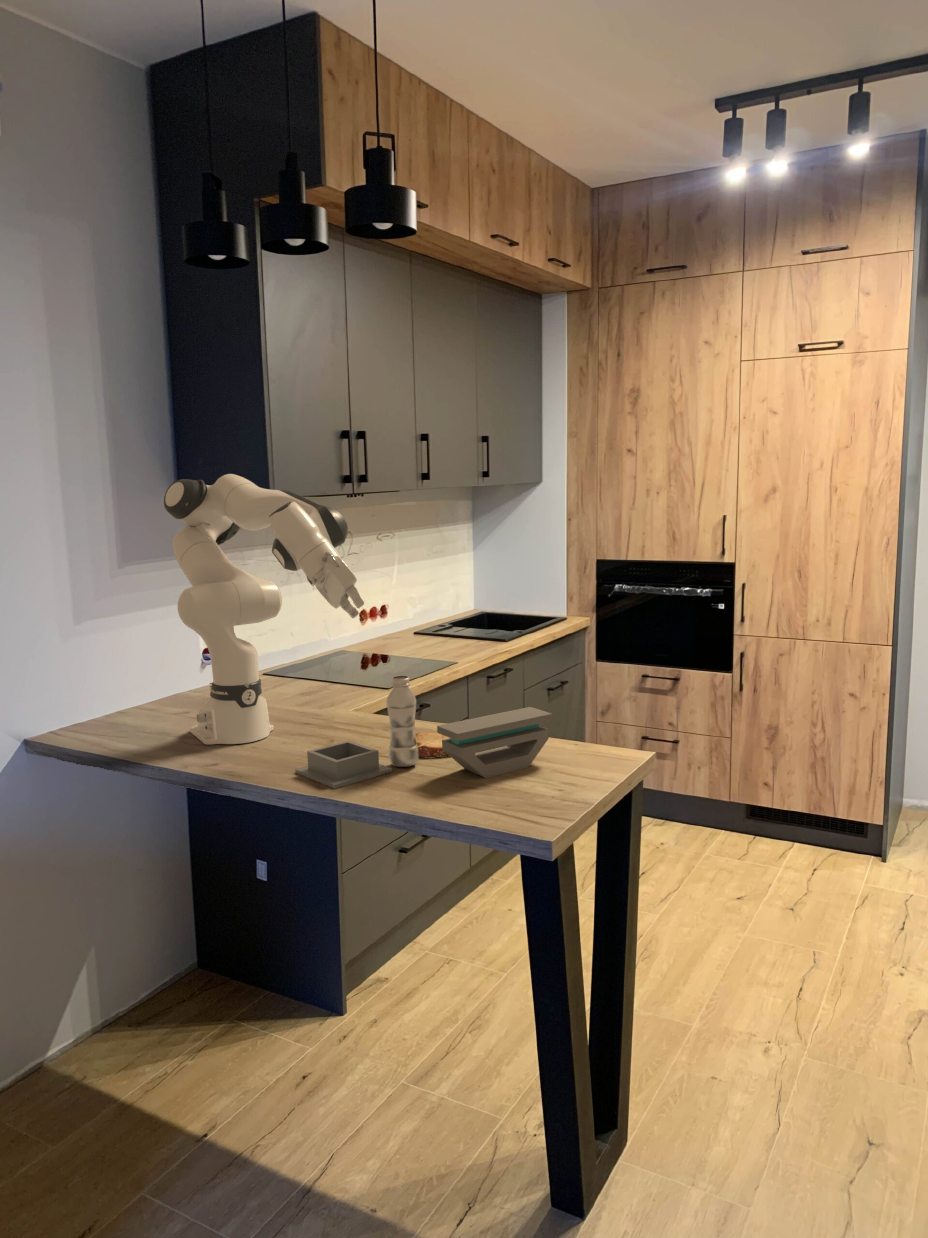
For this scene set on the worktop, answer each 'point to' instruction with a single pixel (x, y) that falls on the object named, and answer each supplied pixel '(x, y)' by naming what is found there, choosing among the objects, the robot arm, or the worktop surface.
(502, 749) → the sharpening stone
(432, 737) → the slice of bread
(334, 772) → the holder
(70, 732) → the worktop surface
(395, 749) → the plastic bottle
